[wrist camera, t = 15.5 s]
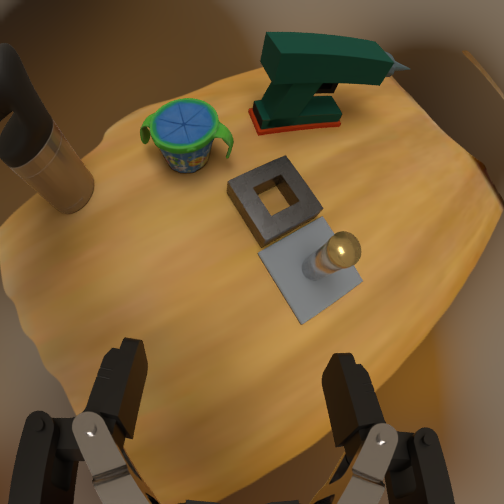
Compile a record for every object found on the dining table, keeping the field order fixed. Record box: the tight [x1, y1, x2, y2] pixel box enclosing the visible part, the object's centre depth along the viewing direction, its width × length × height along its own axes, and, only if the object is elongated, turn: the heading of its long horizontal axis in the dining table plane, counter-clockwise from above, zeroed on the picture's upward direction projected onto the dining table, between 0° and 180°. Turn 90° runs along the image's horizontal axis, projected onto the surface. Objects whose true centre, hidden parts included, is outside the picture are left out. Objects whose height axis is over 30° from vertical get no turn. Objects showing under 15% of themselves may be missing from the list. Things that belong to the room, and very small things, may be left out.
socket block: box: [227, 155, 323, 248], centre depth 44 cm, size 11×11×4 cm
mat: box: [258, 216, 363, 324], centre depth 44 cm, size 13×13×1 cm
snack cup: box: [140, 98, 234, 173], centre depth 42 cm, size 16×10×10 cm
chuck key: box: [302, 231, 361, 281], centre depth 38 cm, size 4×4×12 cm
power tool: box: [248, 32, 409, 136], centre depth 44 cm, size 32×7×20 cm, turn 107°
